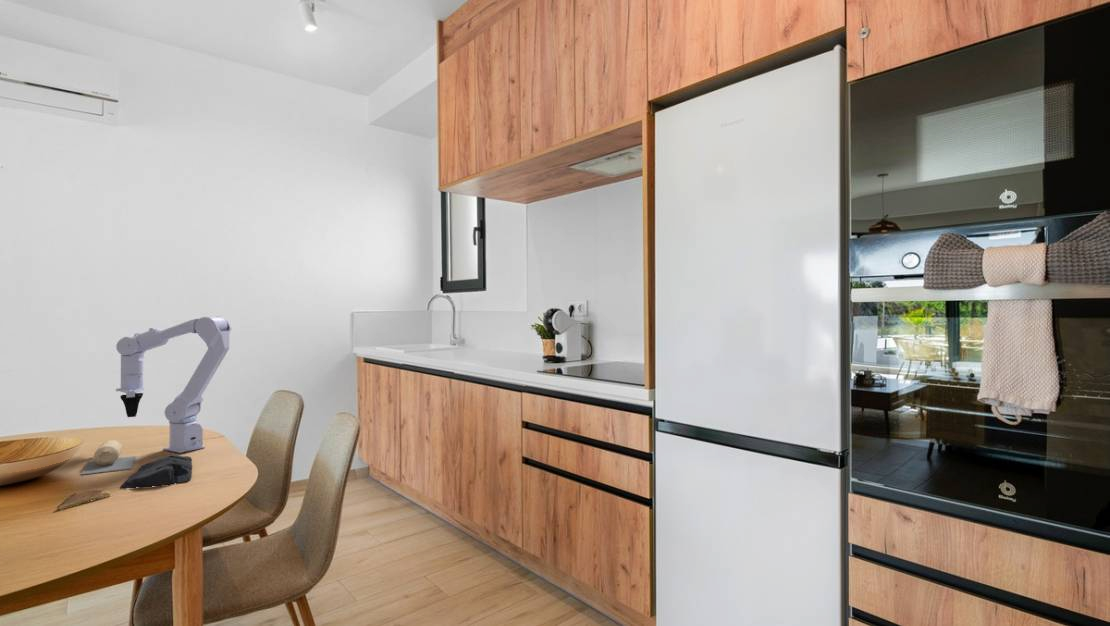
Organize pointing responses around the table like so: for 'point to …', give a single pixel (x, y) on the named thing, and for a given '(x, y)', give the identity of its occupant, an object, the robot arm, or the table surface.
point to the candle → (108, 452)
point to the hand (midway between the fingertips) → (131, 416)
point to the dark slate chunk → (161, 472)
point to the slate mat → (109, 466)
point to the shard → (83, 497)
